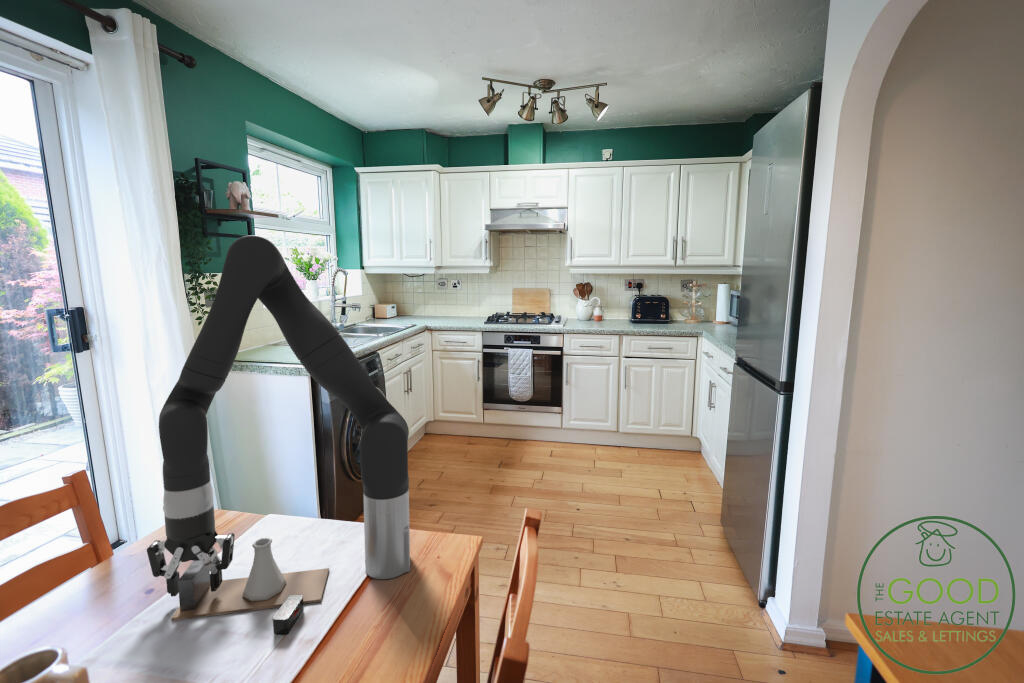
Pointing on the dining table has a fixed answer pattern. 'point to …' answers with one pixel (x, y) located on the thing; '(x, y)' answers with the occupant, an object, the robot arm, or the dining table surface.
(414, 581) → the dining table surface
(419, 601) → the dining table surface
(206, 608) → the strip
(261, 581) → the flask
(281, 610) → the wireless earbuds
